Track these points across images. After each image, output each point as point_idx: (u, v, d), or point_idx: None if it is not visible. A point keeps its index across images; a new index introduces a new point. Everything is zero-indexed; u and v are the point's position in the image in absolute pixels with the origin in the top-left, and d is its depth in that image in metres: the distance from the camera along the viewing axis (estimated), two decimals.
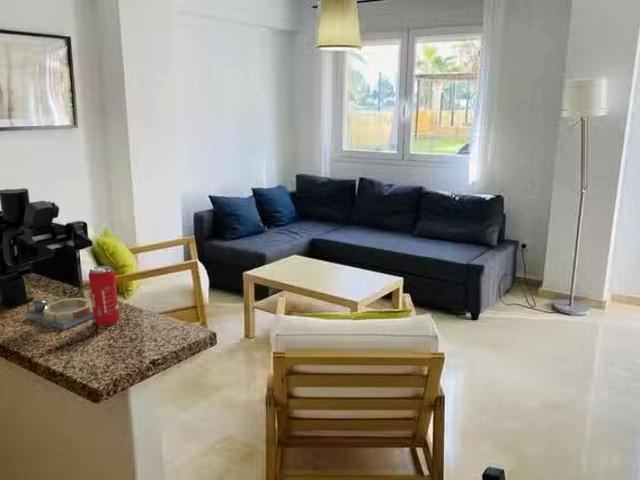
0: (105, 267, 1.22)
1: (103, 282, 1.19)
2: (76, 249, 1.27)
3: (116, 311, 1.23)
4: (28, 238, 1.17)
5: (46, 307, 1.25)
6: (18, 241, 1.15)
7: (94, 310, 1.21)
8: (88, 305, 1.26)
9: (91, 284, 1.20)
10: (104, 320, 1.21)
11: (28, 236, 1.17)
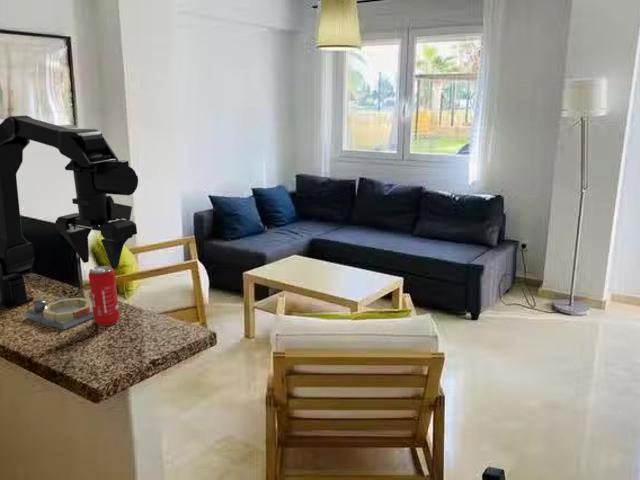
0: (105, 267, 1.22)
1: (103, 282, 1.19)
2: (71, 238, 1.20)
3: (116, 311, 1.23)
4: None
5: (46, 307, 1.25)
6: None
7: (94, 310, 1.21)
8: (88, 305, 1.26)
9: (91, 284, 1.20)
10: (104, 320, 1.21)
11: None
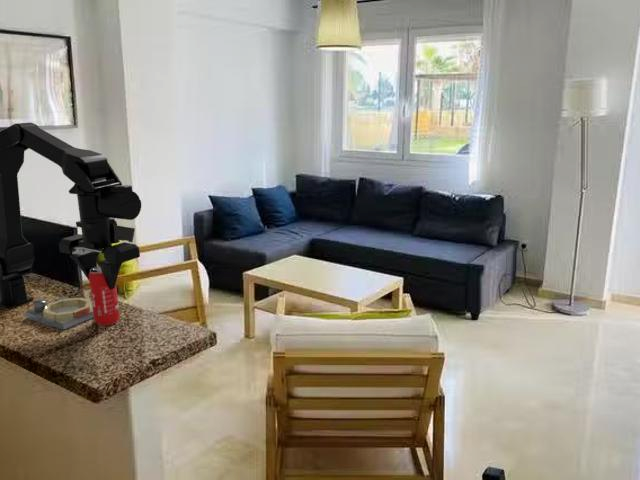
0: None
1: (104, 282, 1.19)
2: (80, 261, 1.20)
3: (116, 311, 1.23)
4: None
5: (46, 307, 1.25)
6: None
7: (94, 310, 1.21)
8: (88, 305, 1.26)
9: (91, 284, 1.20)
10: (104, 320, 1.21)
11: None
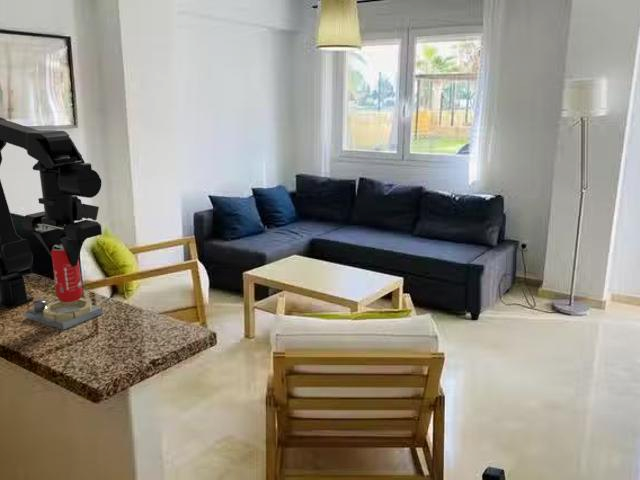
0: None
1: (66, 259, 1.21)
2: (43, 237, 1.21)
3: (78, 288, 1.24)
4: None
5: (46, 307, 1.25)
6: None
7: (56, 287, 1.23)
8: (88, 305, 1.26)
9: (53, 261, 1.21)
10: (66, 297, 1.23)
11: None
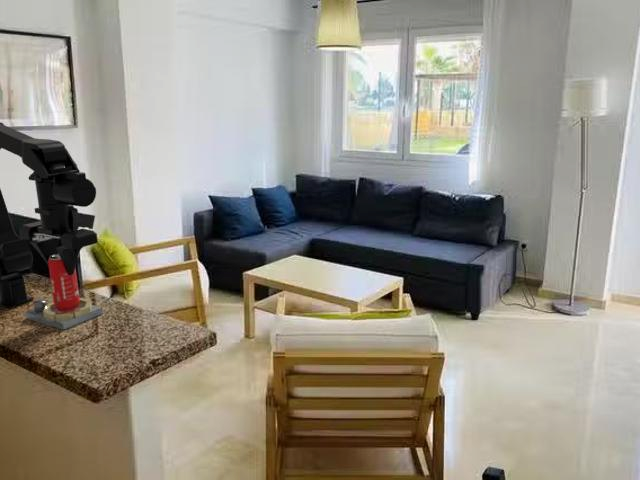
0: None
1: (62, 268, 1.21)
2: (40, 247, 1.22)
3: (76, 297, 1.25)
4: None
5: (46, 307, 1.25)
6: None
7: (54, 296, 1.23)
8: (88, 305, 1.26)
9: (50, 270, 1.22)
10: (63, 306, 1.23)
11: None
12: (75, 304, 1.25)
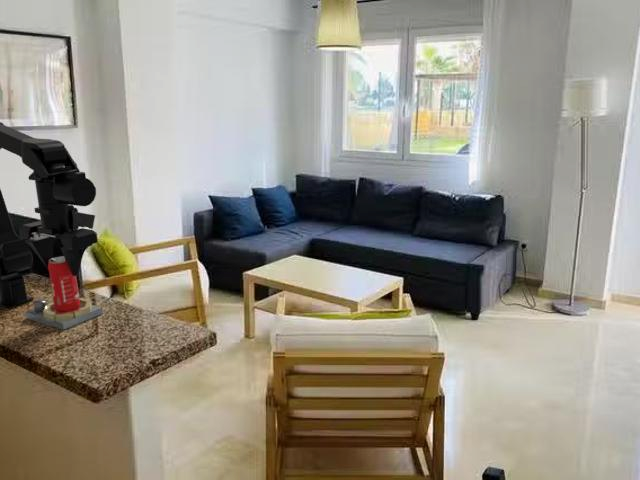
0: None
1: (62, 272, 1.21)
2: (35, 246, 1.23)
3: (76, 300, 1.25)
4: None
5: (46, 307, 1.25)
6: None
7: (54, 299, 1.24)
8: (88, 305, 1.26)
9: (50, 274, 1.22)
10: (64, 309, 1.23)
11: None
12: (75, 307, 1.25)
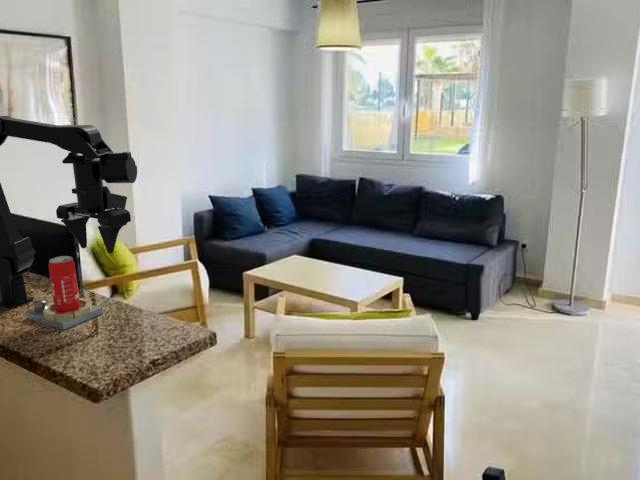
0: (65, 257, 1.24)
1: (62, 272, 1.21)
2: (71, 225, 1.30)
3: (76, 300, 1.25)
4: None
5: (46, 307, 1.25)
6: None
7: (54, 299, 1.24)
8: (88, 305, 1.26)
9: (50, 274, 1.22)
10: (64, 309, 1.24)
11: None
12: (75, 307, 1.25)
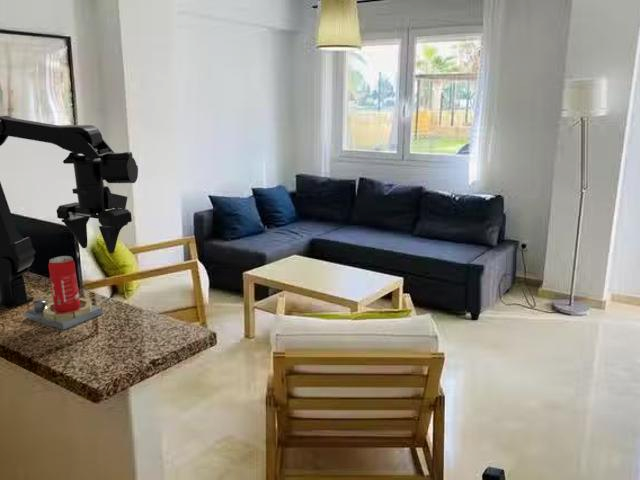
0: (65, 257, 1.24)
1: (62, 272, 1.21)
2: (71, 225, 1.30)
3: (76, 300, 1.25)
4: None
5: (46, 307, 1.25)
6: None
7: (54, 299, 1.24)
8: (88, 305, 1.26)
9: (50, 273, 1.22)
10: (64, 309, 1.24)
11: None
12: (75, 307, 1.25)
